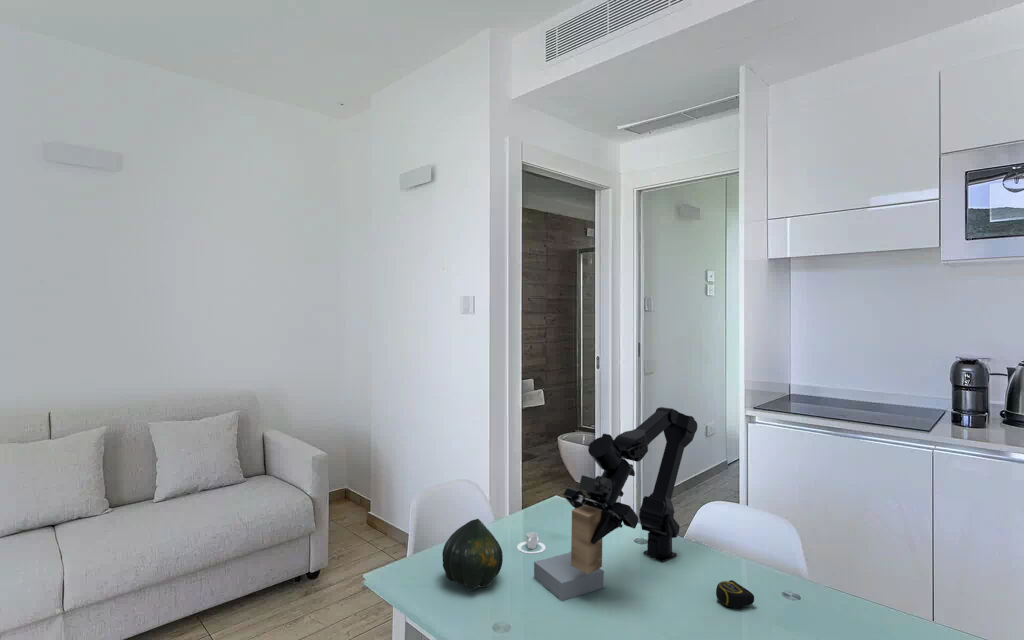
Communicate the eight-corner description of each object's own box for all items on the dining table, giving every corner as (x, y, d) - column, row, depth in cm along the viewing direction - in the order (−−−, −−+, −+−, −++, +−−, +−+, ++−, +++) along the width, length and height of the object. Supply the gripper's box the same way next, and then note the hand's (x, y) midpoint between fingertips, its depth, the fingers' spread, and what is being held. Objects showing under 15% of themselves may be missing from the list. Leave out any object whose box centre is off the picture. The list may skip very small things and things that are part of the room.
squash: (444, 581, 118) (484, 522, 123) (423, 556, 132) (460, 504, 137) (488, 612, 123) (524, 554, 128) (463, 585, 136) (497, 534, 141)
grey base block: (573, 566, 137) (573, 551, 137) (603, 587, 126) (603, 570, 126) (534, 578, 131) (534, 561, 131) (561, 600, 120) (561, 583, 120)
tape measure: (755, 609, 117) (756, 592, 117) (730, 614, 115) (730, 596, 115) (734, 593, 124) (734, 577, 124) (709, 598, 122) (709, 581, 122)
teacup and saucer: (529, 539, 154) (529, 525, 154) (552, 546, 150) (552, 532, 150) (511, 550, 147) (511, 535, 147) (535, 557, 143) (535, 542, 143)
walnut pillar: (585, 558, 126) (586, 504, 126) (601, 566, 122) (602, 511, 122) (571, 565, 123) (571, 510, 122) (587, 574, 119) (588, 516, 119)
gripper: (567, 454, 132) (536, 509, 124) (630, 470, 118) (599, 533, 111) (588, 479, 137) (559, 533, 130) (650, 497, 123) (622, 559, 116)
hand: (583, 539), depth 122 cm, fingers closed on walnut pillar, 5 cm apart
